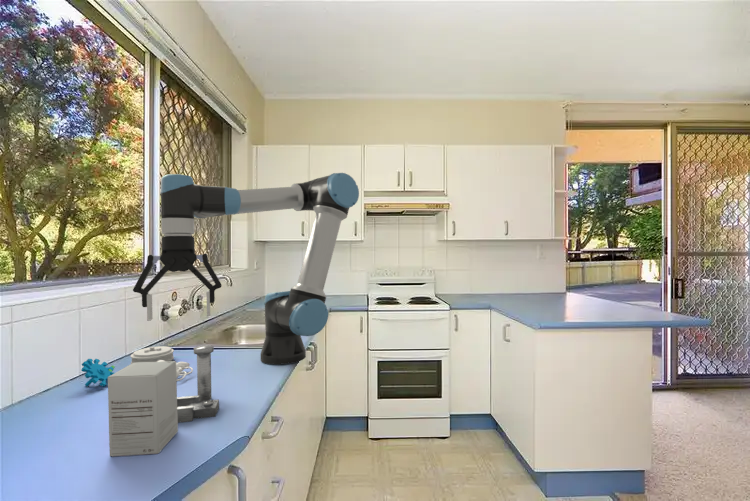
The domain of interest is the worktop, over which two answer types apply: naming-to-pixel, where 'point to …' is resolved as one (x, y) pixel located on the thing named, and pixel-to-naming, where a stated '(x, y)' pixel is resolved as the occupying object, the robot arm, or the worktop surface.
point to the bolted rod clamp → (195, 408)
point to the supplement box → (142, 408)
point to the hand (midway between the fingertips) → (180, 317)
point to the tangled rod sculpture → (180, 369)
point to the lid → (153, 354)
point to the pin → (204, 371)
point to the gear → (97, 371)
